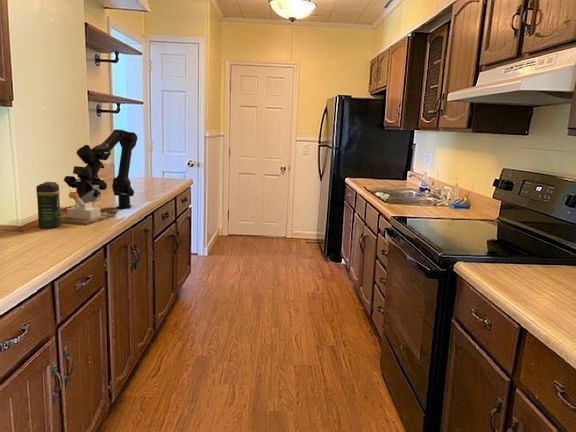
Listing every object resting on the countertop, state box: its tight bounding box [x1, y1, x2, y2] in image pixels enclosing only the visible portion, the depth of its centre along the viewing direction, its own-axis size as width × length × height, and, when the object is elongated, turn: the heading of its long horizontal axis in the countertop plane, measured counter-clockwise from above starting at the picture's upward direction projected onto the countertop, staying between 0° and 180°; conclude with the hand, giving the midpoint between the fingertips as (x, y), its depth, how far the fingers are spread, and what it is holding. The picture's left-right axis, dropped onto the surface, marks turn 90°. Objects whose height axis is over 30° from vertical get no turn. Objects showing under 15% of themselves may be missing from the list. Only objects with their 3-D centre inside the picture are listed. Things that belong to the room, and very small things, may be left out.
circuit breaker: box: [76, 178, 102, 207], centre depth 229 cm, size 8×14×15 cm, turn 78°
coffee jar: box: [35, 181, 62, 229], centre depth 186 cm, size 10×8×19 cm
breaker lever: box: [68, 191, 85, 208], centre depth 199 cm, size 2×3×10 cm
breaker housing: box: [66, 202, 102, 219], centre depth 203 cm, size 7×12×6 cm, turn 77°
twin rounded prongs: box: [106, 208, 119, 215], centre depth 217 cm, size 7×12×2 cm, turn 77°
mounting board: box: [61, 212, 116, 226], centre depth 204 cm, size 20×18×1 cm
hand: (77, 198), depth 199 cm, fingers closed, pressing on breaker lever
